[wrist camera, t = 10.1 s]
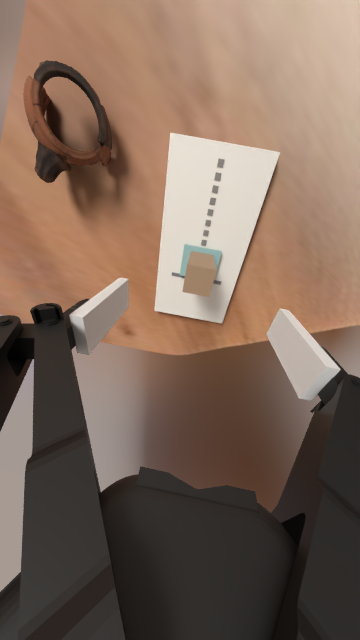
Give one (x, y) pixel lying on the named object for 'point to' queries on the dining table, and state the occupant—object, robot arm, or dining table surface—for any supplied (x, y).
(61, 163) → the dark brown looped ring
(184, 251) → the stub
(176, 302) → the board
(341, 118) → the dining table surface
